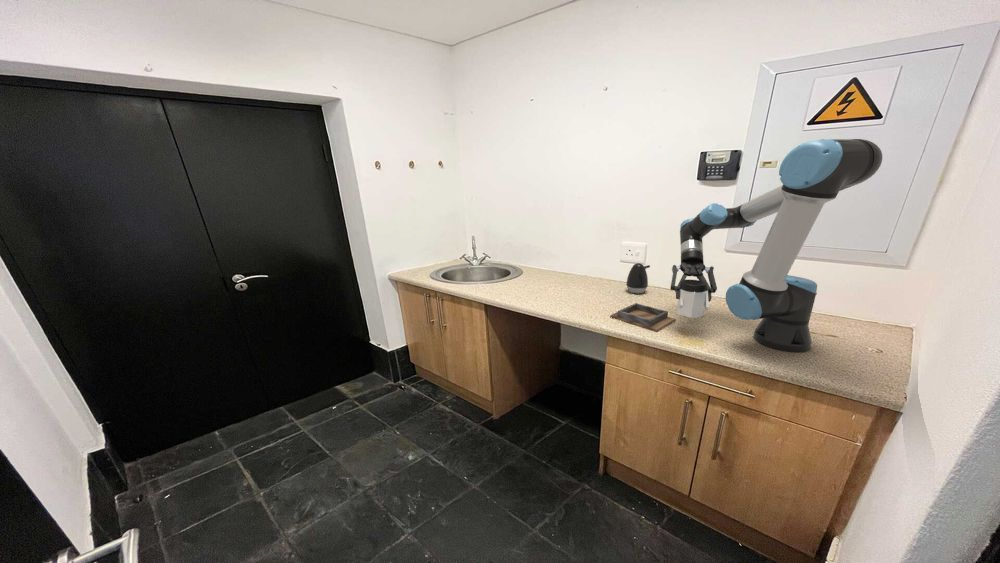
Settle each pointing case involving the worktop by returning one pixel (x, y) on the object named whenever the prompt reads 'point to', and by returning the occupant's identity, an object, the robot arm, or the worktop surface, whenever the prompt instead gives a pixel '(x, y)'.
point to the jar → (692, 298)
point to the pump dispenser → (637, 279)
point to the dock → (644, 317)
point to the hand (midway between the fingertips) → (693, 307)
